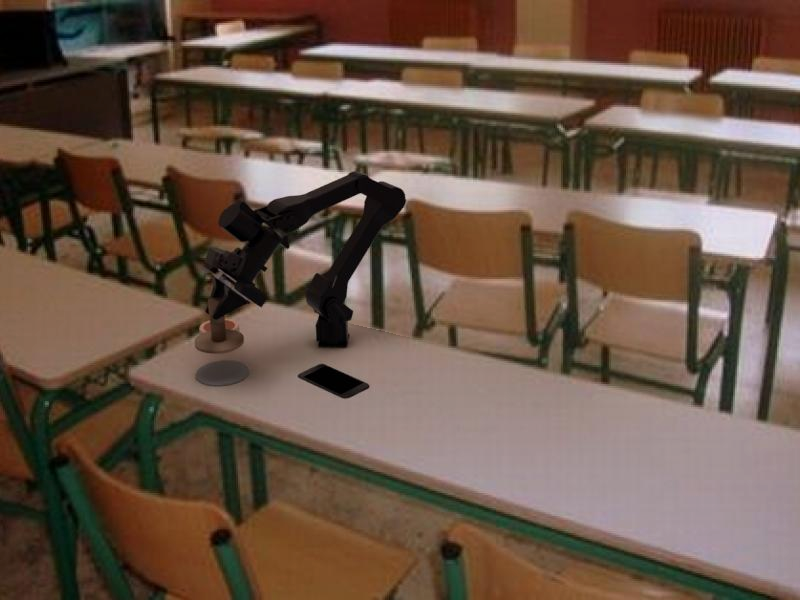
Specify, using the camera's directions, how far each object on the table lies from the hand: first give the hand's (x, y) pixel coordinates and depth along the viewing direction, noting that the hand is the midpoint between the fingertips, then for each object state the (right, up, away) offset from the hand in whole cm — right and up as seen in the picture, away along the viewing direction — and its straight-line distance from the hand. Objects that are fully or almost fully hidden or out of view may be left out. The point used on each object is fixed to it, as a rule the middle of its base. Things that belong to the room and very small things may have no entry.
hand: (210, 315), depth 194 cm
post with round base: (+1, -6, +3) cm, 7 cm away
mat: (+1, -12, +6) cm, 14 cm away
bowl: (-1, -7, +19) cm, 20 cm away
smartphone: (+25, -14, +2) cm, 29 cm away
